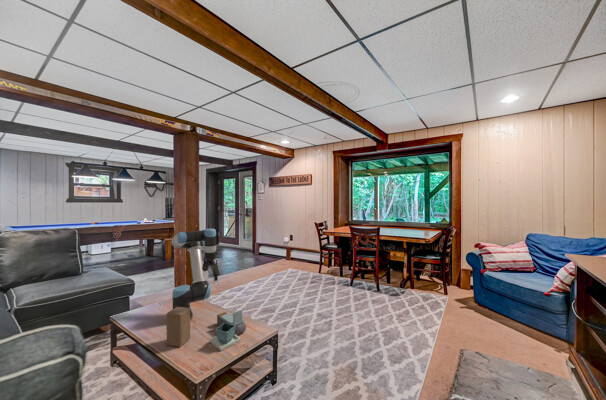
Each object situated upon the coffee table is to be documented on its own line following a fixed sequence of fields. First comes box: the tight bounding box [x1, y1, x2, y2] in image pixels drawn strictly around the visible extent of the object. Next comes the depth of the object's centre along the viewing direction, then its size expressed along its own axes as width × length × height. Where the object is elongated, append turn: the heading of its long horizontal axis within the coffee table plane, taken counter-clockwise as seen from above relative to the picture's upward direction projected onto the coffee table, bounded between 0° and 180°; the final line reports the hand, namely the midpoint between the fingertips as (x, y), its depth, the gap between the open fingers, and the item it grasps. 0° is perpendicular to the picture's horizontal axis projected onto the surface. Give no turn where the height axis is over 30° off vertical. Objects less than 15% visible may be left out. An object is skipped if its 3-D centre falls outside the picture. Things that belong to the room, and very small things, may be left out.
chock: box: [216, 311, 228, 326], centre depth 181 cm, size 5×6×7 cm
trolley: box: [218, 309, 247, 336], centre depth 172 cm, size 19×9×15 cm, turn 46°
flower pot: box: [215, 323, 236, 344], centre depth 158 cm, size 9×9×9 cm
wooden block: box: [165, 307, 191, 348], centre depth 159 cm, size 10×10×20 cm
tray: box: [209, 335, 242, 352], centre depth 159 cm, size 13×13×2 cm
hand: (210, 282), depth 173 cm, fingers open, 13 cm apart
